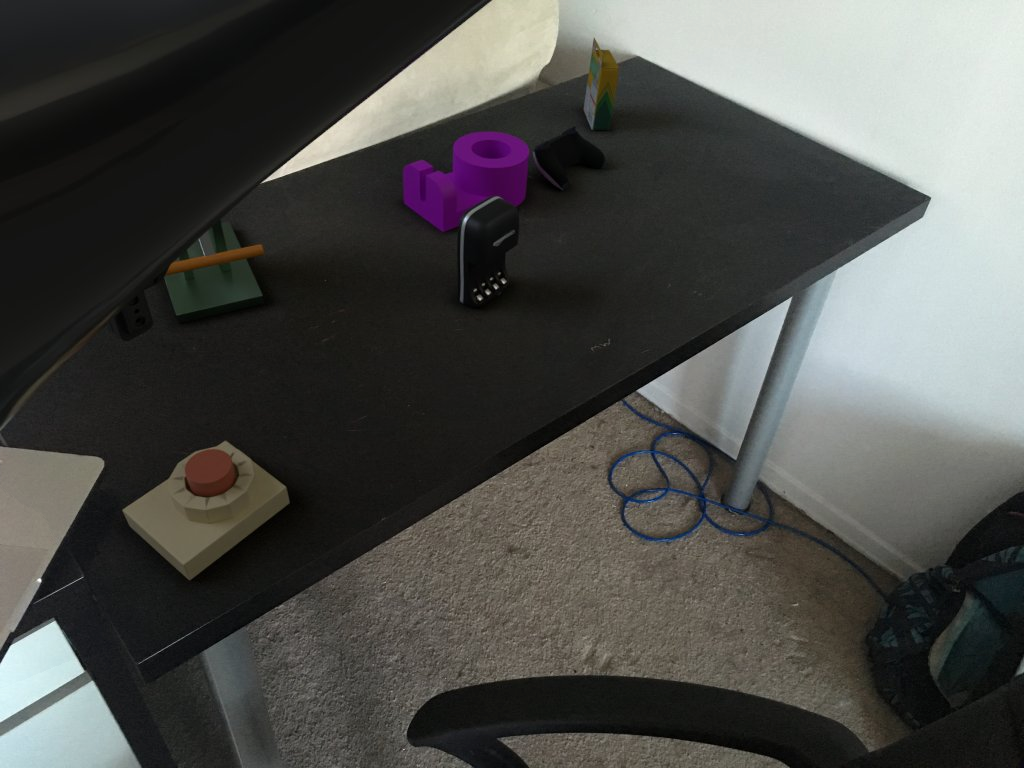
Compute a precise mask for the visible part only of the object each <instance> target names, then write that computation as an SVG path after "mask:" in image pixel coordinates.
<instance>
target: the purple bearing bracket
mask: <svg viewBox="0 0 1024 768" xmlns="http://www.w3.org/2000/svg"><path fill="white" fill-rule="evenodd" d="M452 146H453V147H452V171H451V172H448V173H444V172H442V171H441V170H436V171H434V166H433V165H432V164H430V163H429V162H427V161H426V160H423V159H420V160H417V161H414V162H411V163H409V164H406V165H404V167H403V170H402V179H403V180H402V182H403V184H402V185H403V204H404V205H406V207H408V208H410V209H411V210H412V211H413V212H414V213H416V214H417V215H419V216H420V217H422V218H423V219H424V220H425V221H427V222H429V223H430V224H431V225H432V226H434V227H435V228H436V229H438V230H440V231H441V232H442V233H445V232H447V231H451V230H452V229H455V228H458V225H459V221H460V218H461V216H462V215H463V213H464V212H465V211H467V210H468V209H469V208H471V207H473V206H474V205H476V204H477V203H479V202H481V201H483V200H484V199H486V198H488V197H491V196H498V197H500V198H502V199H503V200H505V201H507V202H509V203H511V204H513V205H514V206H515V207H516V208H517V207H518V206H519V205H521V204H522V203H523V202H524V200H525V198H526V194H527V182H528V181H527V180H528V170H529V169H528V168H529V157H530V149H529V147H528V145H527V143H526V142H524V141H523V140H522V139H520V138H518V137H516V136H514V135H511V134H509V133H504V132H500V131H499V132H498V131H475V132H470V133H468V134H464V135H462V136H461V137H459V138H458V139H457V140H455V142H454V143H453V145H452Z"/></svg>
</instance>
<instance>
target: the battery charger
mask: <svg viewBox="0 0 1024 768" xmlns="http://www.w3.org/2000/svg"><path fill="white" fill-rule="evenodd" d="M519 237H520V212H519V209H518V208H517V206H516V207H515V206H514V205H513V204H511V203H509V202H507V201H505V200H503V199H502V198H500V197H498V196H491V197H488V198H486V199H484V200H483V201H481V202H479V203H477V204H476V205H474V206H473V207H471V208H469V209H468V210H467V211H465V212H464V213H463V215H462V216H461V218H460V221H459V225H458V226H457V238H456V239H457V240H456V245H457V246H456V249H457V250H456V255H457V256H456V258H457V259H456V261H457V264H456V265H457V292H456V293H457V296H456V299H457V300H458V302H460V303H461V304H464V305H467V306H469V307H471V308H474V309H475V308H478V309H479V308H482V307H484V306H486V305H487V304H489V303H490V302H491V301H494V299H496V298H497V297H499V296H500V295H502V294H503V293H504V292H505V291H507V290H508V289H509V288H510V278H509V275H508V271H507V267H506V255H507V253H508V252H509V251H511V250H512V249H515V247H517V245H518V244H519Z"/></svg>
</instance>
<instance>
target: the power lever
mask: <svg viewBox="0 0 1024 768" xmlns="http://www.w3.org/2000/svg"><path fill="white" fill-rule="evenodd" d="M198 241H199V244H200V247H201V250H202V253H203V256H202V257H197V258H192V259H187V260H182V261H177V262H173V263H172V264H171V265H170V267H169V269H168V271H167V273H166V275H165V276H167V275H171V274H176V273H181V272H185V271H190V270H195V269H200V268H204V267H209V266H214V265H218V264H223V263H228V262H233V261H237V260H242V259H246V260H248V259H250V258H256V257H261V256H264V255H265V251H264V247H263V244H261V243H260V244H255V245H250V246H246V247H241V248H240V249H235V250H231V251H226V252H221V253H215V250H214V247H213V244H212V241H211V238H210V235H209V233H208V231H207V232H206V233H205V234H204V235H202V236H201V237H200V238H199V239H198Z"/></svg>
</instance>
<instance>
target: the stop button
mask: <svg viewBox="0 0 1024 768" xmlns="http://www.w3.org/2000/svg"><path fill="white" fill-rule="evenodd" d="M207 449H208V448H207ZM185 475H186V477H187V480H188V483H189V486H190V489H191V490H192V491H193V492H194V493H195V494H197V495H199V496H202V497H213V496H217V495H220V494H222V493H224V492H226V491H227V490H229V489H230V488H231V487H232V485H233V484H234V482H235V479H236V473H235V470H234V466H233V463H232V459H231V457H230V456H229V454H227V453H226V452H224V451H222V450H218V449H208V450H204V451H201V452H199V453H197V454H195V455H194V456H192V457H191V458H190V459H189V460H188V462H187V463H186V466H185Z"/></svg>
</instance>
